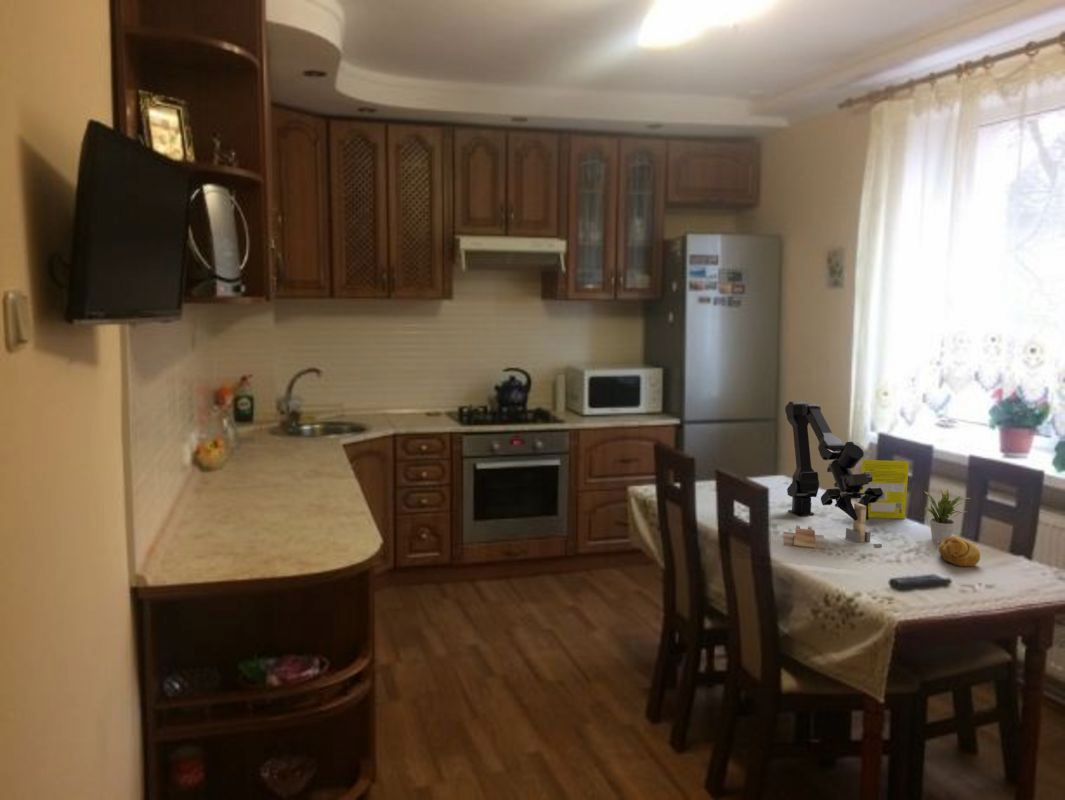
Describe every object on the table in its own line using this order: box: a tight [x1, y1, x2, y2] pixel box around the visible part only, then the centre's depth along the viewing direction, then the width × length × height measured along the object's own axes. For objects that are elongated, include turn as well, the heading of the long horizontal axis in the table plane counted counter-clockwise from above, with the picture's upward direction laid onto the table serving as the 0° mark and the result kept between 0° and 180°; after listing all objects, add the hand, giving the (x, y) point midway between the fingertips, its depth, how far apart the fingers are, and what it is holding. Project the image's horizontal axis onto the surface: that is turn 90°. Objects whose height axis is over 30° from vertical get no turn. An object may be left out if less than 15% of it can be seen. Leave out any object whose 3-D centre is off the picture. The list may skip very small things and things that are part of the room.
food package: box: [860, 459, 910, 519], centre depth 285 cm, size 15×1×20 cm, turn 84°
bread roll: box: [938, 535, 981, 567], centre depth 240 cm, size 13×10×8 cm
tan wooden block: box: [852, 502, 867, 542], centre depth 256 cm, size 4×2×11 cm, turn 12°
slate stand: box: [834, 527, 883, 548], centre depth 257 cm, size 10×10×4 cm
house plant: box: [923, 489, 973, 543], centre depth 259 cm, size 14×14×16 cm
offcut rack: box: [782, 525, 827, 551], centre depth 256 cm, size 15×12×4 cm
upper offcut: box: [794, 528, 816, 540], centre depth 251 cm, size 4×5×2 cm, turn 74°
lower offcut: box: [794, 534, 816, 547], centre depth 252 cm, size 4×6×2 cm, turn 74°
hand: (861, 519), depth 255 cm, fingers open, 3 cm apart
